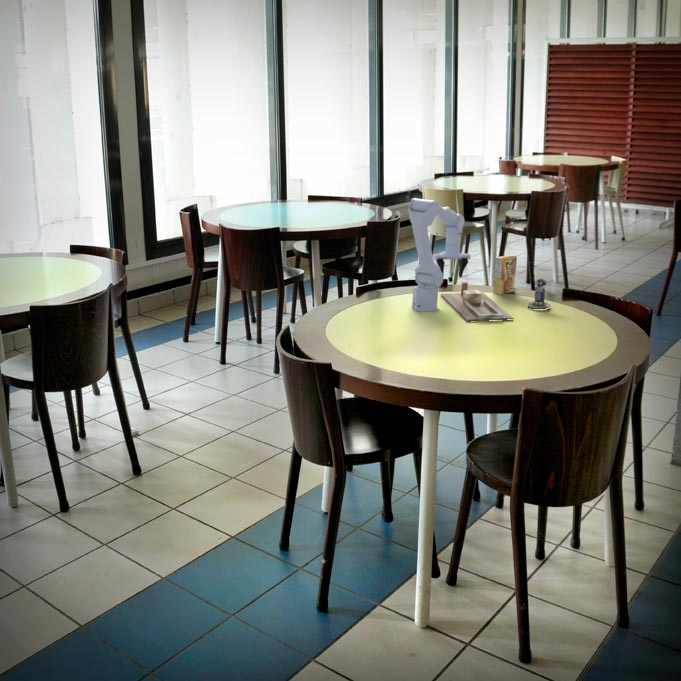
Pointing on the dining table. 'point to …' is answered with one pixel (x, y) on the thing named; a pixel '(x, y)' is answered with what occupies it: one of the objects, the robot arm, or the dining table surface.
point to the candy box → (504, 274)
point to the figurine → (539, 296)
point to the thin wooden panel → (476, 308)
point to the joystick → (470, 294)
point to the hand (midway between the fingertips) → (451, 276)
